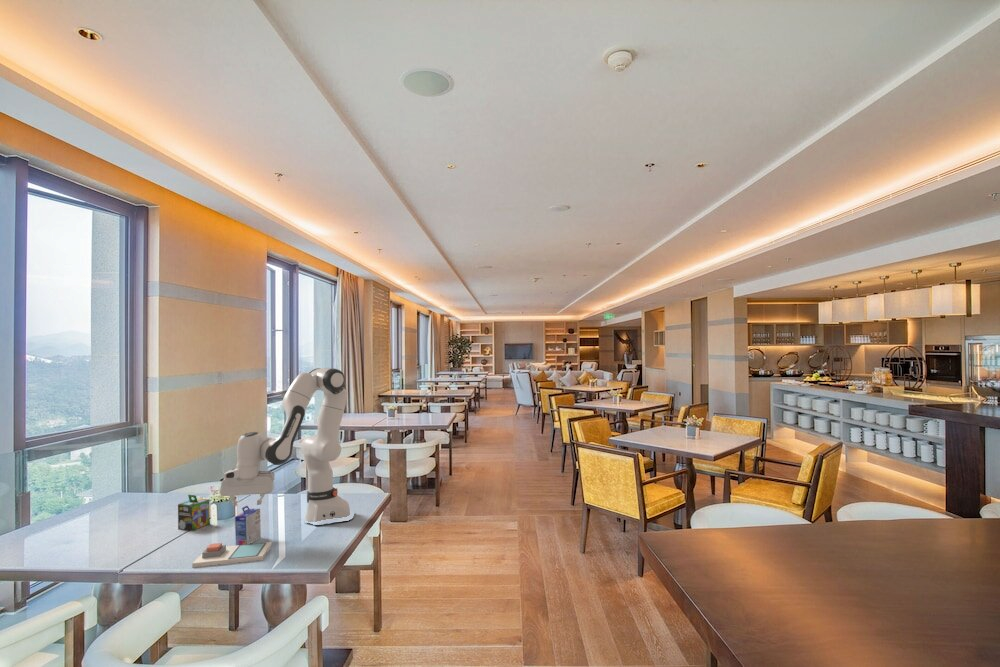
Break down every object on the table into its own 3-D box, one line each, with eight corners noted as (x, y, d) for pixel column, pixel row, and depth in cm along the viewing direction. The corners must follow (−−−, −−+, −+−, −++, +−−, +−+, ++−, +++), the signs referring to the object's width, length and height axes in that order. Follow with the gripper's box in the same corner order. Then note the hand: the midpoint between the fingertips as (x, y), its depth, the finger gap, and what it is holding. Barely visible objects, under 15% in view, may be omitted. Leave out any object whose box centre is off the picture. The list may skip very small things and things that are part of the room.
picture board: (271, 545, 194) (271, 537, 194) (262, 560, 180) (262, 550, 180) (206, 552, 189) (206, 543, 189) (192, 567, 175) (192, 557, 175)
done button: (221, 548, 185) (221, 542, 186) (218, 552, 182) (218, 546, 182) (210, 549, 185) (210, 543, 185) (206, 553, 181) (206, 548, 181)
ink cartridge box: (249, 536, 204) (249, 502, 205) (261, 537, 203) (261, 503, 204) (234, 546, 194) (234, 510, 195) (246, 546, 194) (247, 510, 194)
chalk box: (210, 524, 220) (210, 492, 221) (191, 531, 212) (192, 498, 212) (195, 522, 223) (196, 490, 224) (176, 529, 215) (177, 496, 215)
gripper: (276, 468, 205) (275, 501, 204) (224, 471, 201) (223, 504, 200) (272, 472, 199) (271, 505, 198) (219, 474, 195) (217, 509, 194)
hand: (247, 505), depth 199 cm, fingers open, 8 cm apart
